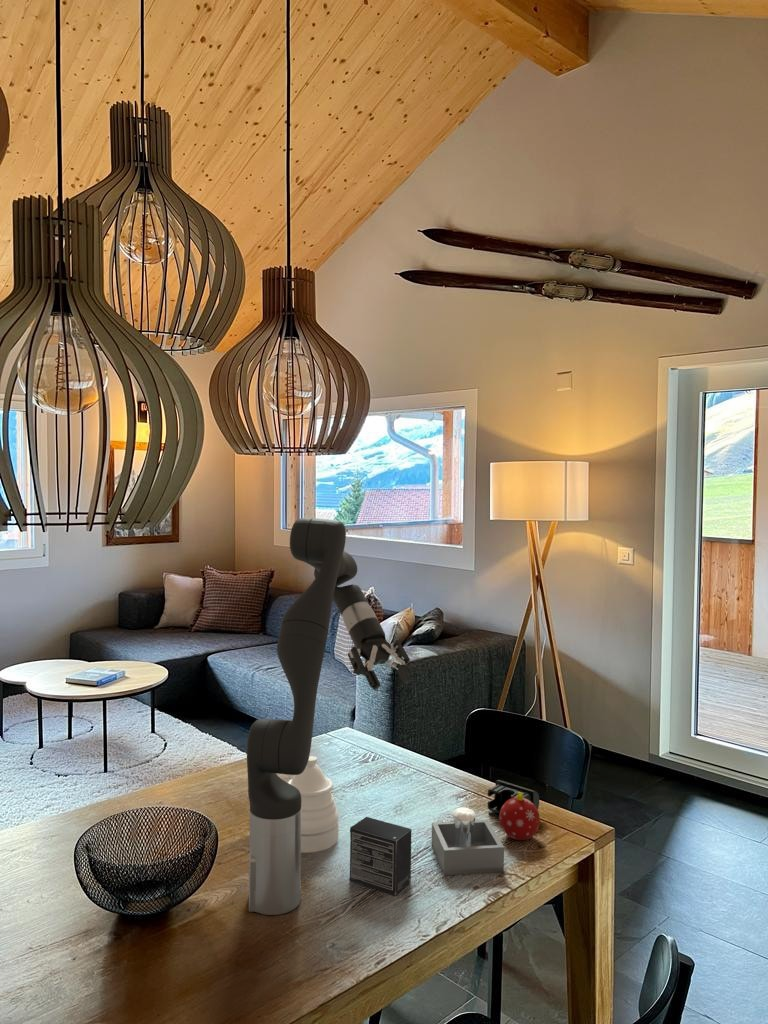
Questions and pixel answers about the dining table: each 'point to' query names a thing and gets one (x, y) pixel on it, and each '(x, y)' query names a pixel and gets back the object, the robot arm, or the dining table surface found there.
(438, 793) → the dining table surface
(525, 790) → the end cap
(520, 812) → the christmas ornament
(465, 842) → the milkshake
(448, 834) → the bin
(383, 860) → the small box
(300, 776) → the honey pot
